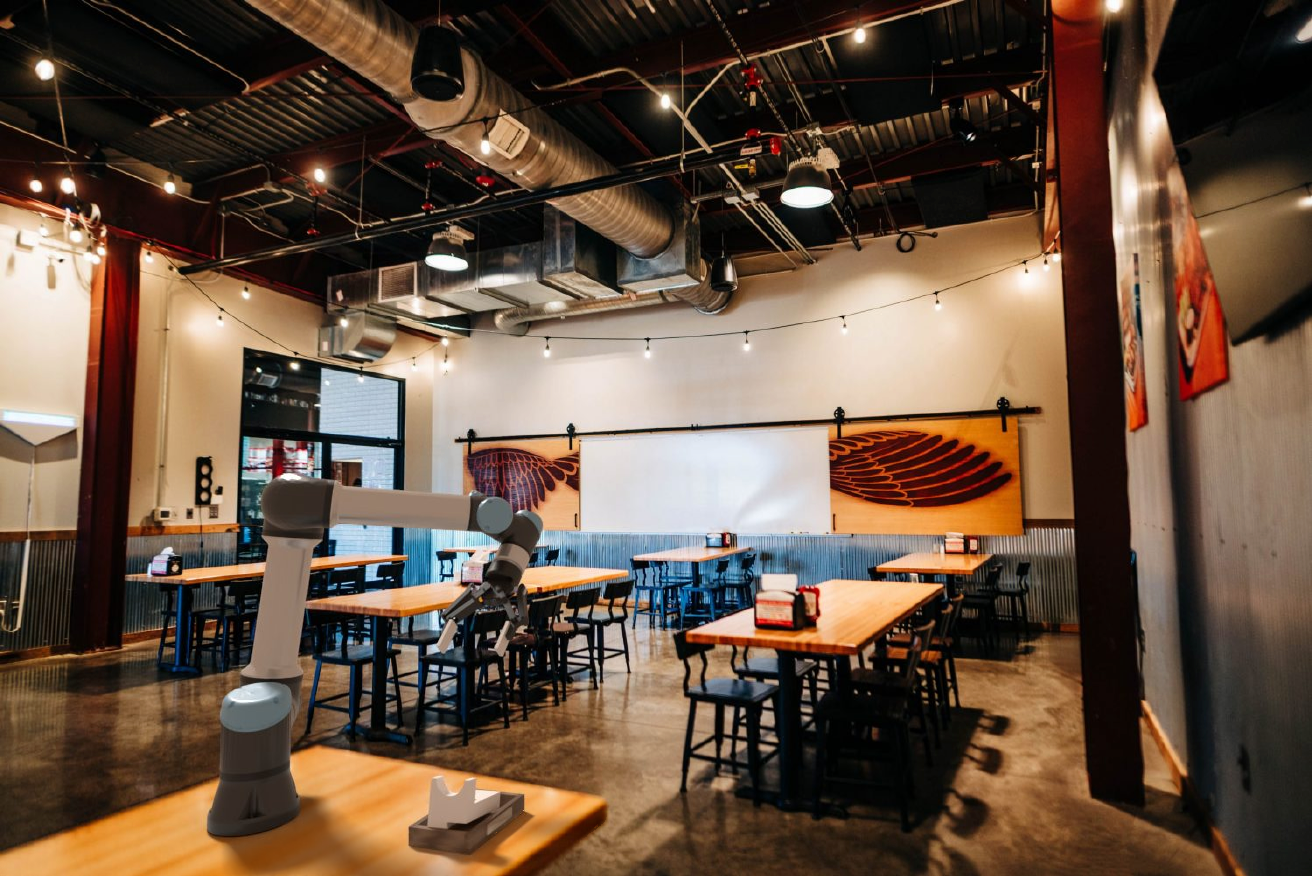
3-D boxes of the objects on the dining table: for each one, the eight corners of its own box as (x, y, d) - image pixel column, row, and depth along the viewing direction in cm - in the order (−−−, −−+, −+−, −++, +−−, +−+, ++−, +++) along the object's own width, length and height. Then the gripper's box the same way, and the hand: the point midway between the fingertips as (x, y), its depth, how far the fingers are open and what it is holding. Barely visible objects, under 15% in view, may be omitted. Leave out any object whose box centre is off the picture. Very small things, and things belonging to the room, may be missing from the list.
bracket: (465, 830, 123) (469, 780, 125) (427, 827, 125) (431, 778, 127) (499, 812, 135) (501, 768, 137) (463, 810, 137) (466, 766, 139)
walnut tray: (408, 845, 125) (408, 826, 125) (468, 804, 142) (468, 787, 142) (471, 854, 121) (471, 835, 121) (525, 811, 138) (525, 794, 138)
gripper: (562, 580, 163) (530, 664, 148) (465, 579, 172) (425, 659, 156) (551, 558, 159) (516, 642, 143) (452, 558, 167) (409, 637, 152)
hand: (469, 651), depth 150 cm, fingers open, 13 cm apart
